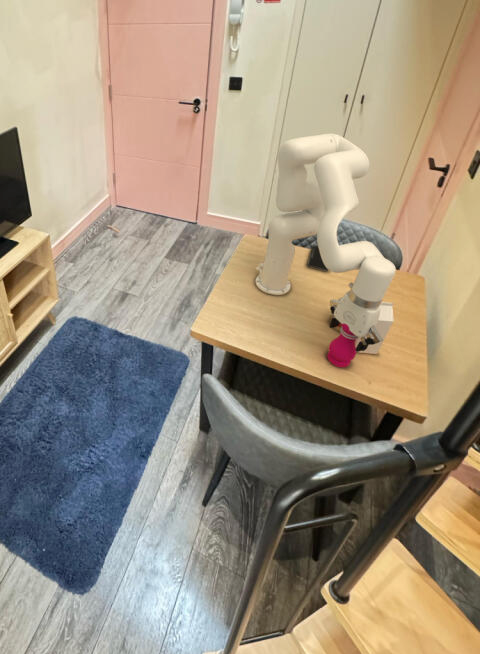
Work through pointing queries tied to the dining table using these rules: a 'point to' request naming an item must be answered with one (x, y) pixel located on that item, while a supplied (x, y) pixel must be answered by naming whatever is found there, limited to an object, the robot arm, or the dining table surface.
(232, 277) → the dining table surface
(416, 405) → the dining table surface
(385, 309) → the milk carton
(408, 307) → the dining table surface
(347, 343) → the pepper mill
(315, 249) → the phone
